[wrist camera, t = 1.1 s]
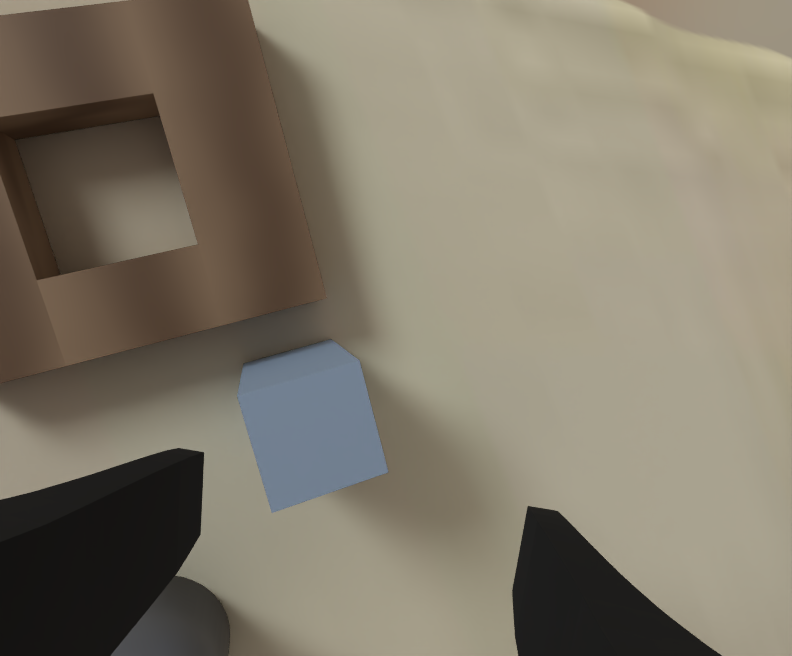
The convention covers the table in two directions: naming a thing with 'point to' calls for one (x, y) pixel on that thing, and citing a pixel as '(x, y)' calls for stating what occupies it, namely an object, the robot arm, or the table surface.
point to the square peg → (309, 423)
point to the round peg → (180, 624)
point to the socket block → (195, 165)
